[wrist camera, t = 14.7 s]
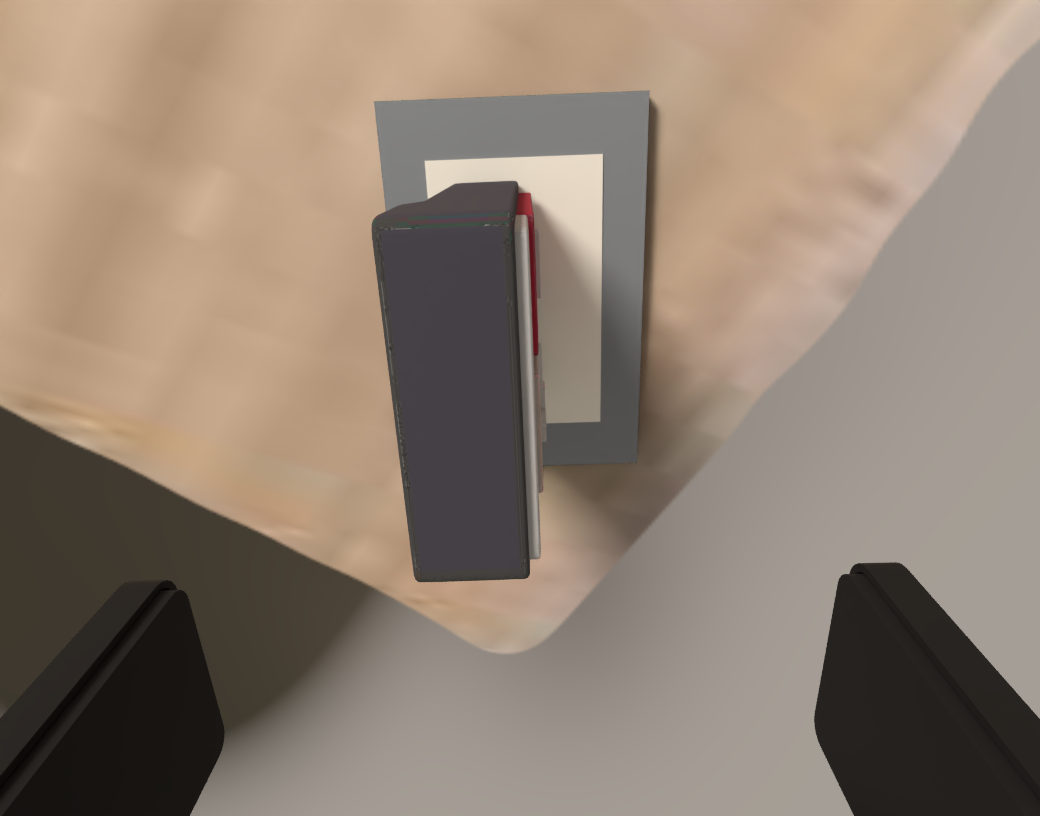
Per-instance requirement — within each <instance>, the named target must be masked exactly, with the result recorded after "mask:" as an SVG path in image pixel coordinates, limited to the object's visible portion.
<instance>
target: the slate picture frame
mask: <svg viewBox="0 0 1040 816" xmlns="http://www.w3.org/2000/svg"><path fill="white" fill-rule="evenodd" d="M374 104H375V114H376V123H377V132H378V142H379V151H380V160H381V170H382V179H383V189H384V198H385V207H386V211H388V210H390V209H392V208H394V207H396V206H398V205H401V204H408V203H415V202H422V201H426V200H427V199H429V198H431V197H433V196H434V195H436V194H438V193H440V192H441V191H443V190H445V189H447V188H448V187H450V186H452V185H454V184H456V183H473V182H495V181H516V182H517V183H518V188H519V193H531V198H532V206H533V213H534V228H538V232H539V245H540V277H541V298H537V312H538V343H541V347H542V377H543V381H544V382H545V406H546V421H547V427H546V438H547V440H546V442H542V458H543V466H548V465H582V464H615V463H637V452H638V422H639V391H640V361H641V331H642V301H643V271H644V241H645V211H646V180H647V150H648V120H649V91H626V92H601V93H576V94H551V95H526V96H501V97H476V98H451V99H426V100H401V101H376V102H374Z"/></svg>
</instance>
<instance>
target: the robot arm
mask: <svg viewBox="0 0 1040 816" xmlns="http://www.w3.org/2000/svg"><path fill="white" fill-rule="evenodd" d="M814 722H815V730H816V735H817V738H818V741H819V744H820V746H821V748H822V750H823V752H824V754H825V756H826V758H827V761H828V763H829V765H830V767H831V769H832V771H833V773H834V775H835V777H836V779H837V781H838V783H839V786H840V788H841V790H842V791H843V794H844V796H845V798H846V800H847V802H848V804H849V806H850V808H851V810H852V812H853V814H854V816H1040V719H1039V718H1038V717H1037V715H1036V714H1035V713H1034V712H1033V711H1032V710H1031V709H1030V708H1029V706H1028V705H1027V704H1026V703H1025V702H1024V701H1023V700H1022V699H1021V697H1020V696H1019V695H1018V694H1017V693H1016V692H1015V690H1014V689H1013V688H1012V687H1011V686H1010V685H1009V684H1008V683H1007V681H1006V680H1005V679H1004V678H1003V677H1002V676H1001V675H1000V674H999V672H998V671H997V670H996V669H995V668H994V667H993V666H992V665H991V663H990V662H989V661H988V660H987V659H986V658H985V656H984V655H983V654H982V653H981V652H980V651H979V650H978V649H977V648H976V646H975V645H974V644H973V643H972V642H971V641H970V639H969V638H968V637H967V636H966V635H965V634H964V633H963V632H962V630H961V629H960V628H959V627H958V626H957V625H956V624H955V622H954V621H953V620H952V619H951V618H950V617H949V616H948V615H947V614H946V612H945V611H944V610H943V609H942V608H941V607H940V605H939V604H938V603H937V602H936V601H935V600H934V599H933V598H932V597H931V595H930V594H929V593H928V592H927V591H926V590H925V588H924V587H923V586H922V585H921V584H920V583H919V582H918V580H917V579H916V578H915V577H914V576H913V575H912V574H911V573H910V571H908V569H907V568H906V567H905V566H903V565H902V564H900V563H858V564H855V565H854V566H853V567H852V569H851V571H850V574H844V575H842V576H841V577H840V578H839V581H838V586H837V591H836V597H835V602H834V608H833V614H832V619H831V625H830V631H829V636H828V642H827V648H826V654H825V659H824V664H823V670H822V676H821V681H820V687H819V693H818V698H817V704H816V710H815V717H814ZM223 742H224V726H223V722H222V718H221V714H220V711H219V707H218V703H217V700H216V696H215V693H214V689H213V685H212V682H211V679H210V675H209V671H208V668H207V664H206V660H205V657H204V653H203V649H202V646H201V642H200V639H199V635H198V631H197V628H196V624H195V621H194V617H193V614H192V610H191V606H190V602H189V599H188V596H187V594H186V593H185V592H184V591H182V590H177V588H176V586H175V585H174V584H173V582H171V581H168V580H158V581H157V580H155V581H154V580H153V581H129V582H125V583H124V584H123V585H121V586H120V587H119V588H118V589H117V590H116V592H114V593H113V595H112V596H111V597H110V598H109V599H108V600H107V601H106V602H105V603H104V605H103V606H102V607H101V608H100V609H99V610H98V611H97V612H96V614H94V616H93V617H92V618H91V619H90V620H89V621H88V622H87V623H86V624H85V625H84V627H83V628H82V629H81V630H80V631H79V632H78V633H77V634H76V635H75V637H74V638H73V639H72V640H71V641H70V642H69V643H68V644H67V645H66V646H65V648H64V649H63V650H62V651H61V652H60V653H59V654H58V656H56V658H55V659H54V660H53V661H52V662H51V663H50V664H49V665H48V666H47V667H46V669H45V670H44V671H43V672H42V673H41V674H40V675H39V676H38V677H37V678H36V680H35V681H34V682H33V683H32V684H31V685H30V686H29V687H28V688H27V689H26V691H25V692H24V693H23V694H22V695H21V696H20V697H19V698H18V699H17V701H16V702H15V703H14V704H13V705H12V706H11V707H10V708H9V709H8V710H7V712H6V713H5V714H4V715H3V716H2V717H1V718H0V816H190V814H191V812H192V810H193V808H194V806H195V804H196V802H197V800H198V798H199V796H200V794H201V792H202V790H203V788H204V785H205V784H206V782H207V780H208V778H209V776H210V774H211V772H212V770H213V768H214V766H215V764H216V762H217V760H218V758H219V755H220V753H221V751H222V747H223Z"/></svg>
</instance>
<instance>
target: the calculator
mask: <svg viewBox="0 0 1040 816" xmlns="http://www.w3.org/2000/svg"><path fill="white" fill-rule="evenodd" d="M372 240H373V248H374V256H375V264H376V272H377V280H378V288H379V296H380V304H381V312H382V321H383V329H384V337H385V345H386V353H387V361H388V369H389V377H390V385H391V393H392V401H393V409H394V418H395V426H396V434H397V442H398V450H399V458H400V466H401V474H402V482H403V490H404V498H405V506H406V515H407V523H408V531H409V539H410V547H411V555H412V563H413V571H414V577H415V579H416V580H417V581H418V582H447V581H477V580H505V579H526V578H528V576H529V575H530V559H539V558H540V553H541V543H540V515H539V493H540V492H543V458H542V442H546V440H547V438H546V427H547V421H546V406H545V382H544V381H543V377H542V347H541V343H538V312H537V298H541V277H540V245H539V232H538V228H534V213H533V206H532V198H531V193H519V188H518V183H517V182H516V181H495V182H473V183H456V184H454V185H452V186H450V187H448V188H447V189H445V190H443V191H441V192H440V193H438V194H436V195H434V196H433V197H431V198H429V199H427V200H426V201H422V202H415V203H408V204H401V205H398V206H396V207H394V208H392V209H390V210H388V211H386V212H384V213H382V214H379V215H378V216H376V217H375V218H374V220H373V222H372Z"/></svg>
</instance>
